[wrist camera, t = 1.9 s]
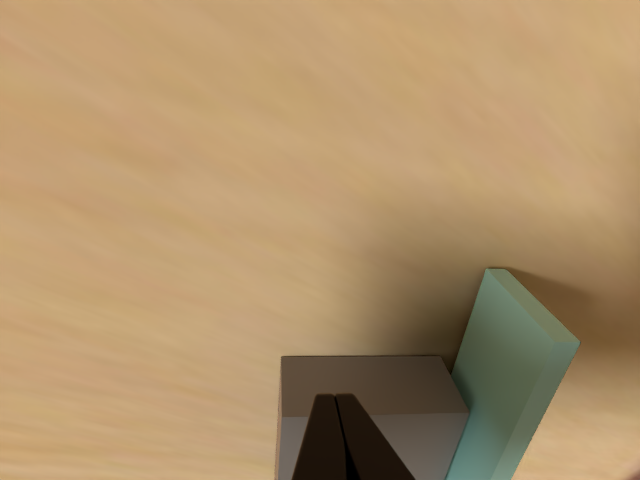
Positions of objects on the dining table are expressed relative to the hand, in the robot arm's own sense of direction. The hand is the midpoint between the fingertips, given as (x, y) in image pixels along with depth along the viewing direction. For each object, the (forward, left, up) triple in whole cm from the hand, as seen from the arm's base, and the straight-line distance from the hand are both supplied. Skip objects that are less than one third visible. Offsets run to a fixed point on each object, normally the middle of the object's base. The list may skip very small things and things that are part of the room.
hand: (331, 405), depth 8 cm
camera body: (-6, -2, -4) cm, 8 cm away
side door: (-5, -6, -4) cm, 9 cm away
